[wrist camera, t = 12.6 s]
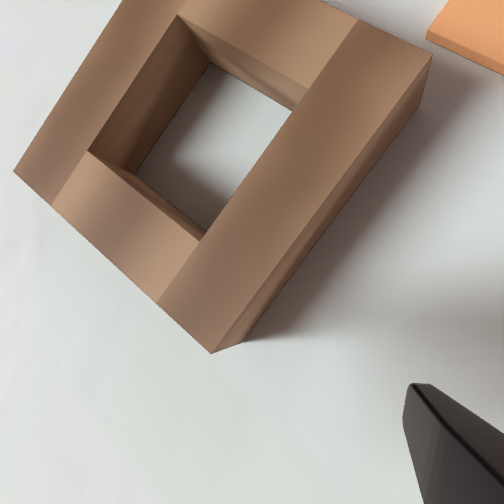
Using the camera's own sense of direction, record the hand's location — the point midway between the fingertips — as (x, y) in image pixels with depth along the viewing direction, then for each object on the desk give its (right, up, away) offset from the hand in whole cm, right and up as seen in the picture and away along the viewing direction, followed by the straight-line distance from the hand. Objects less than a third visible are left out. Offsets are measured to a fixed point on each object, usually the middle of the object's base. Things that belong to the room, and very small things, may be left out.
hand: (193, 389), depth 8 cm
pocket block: (0, +8, +11) cm, 13 cm away
